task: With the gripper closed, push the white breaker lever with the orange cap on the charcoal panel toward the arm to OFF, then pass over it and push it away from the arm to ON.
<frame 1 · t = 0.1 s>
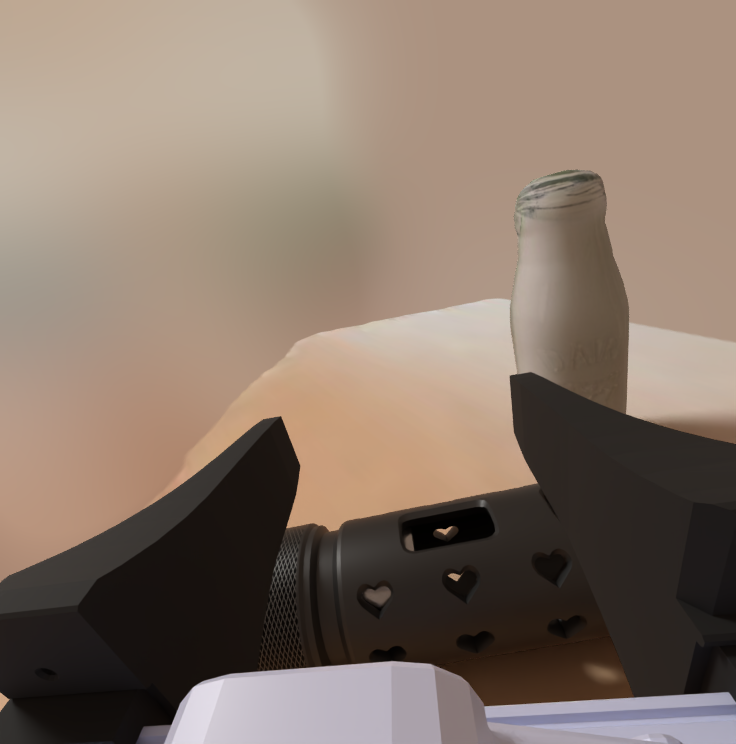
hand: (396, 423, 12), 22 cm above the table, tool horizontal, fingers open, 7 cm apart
muzzle brake: (454, 634, 27), on the table
grey bottle: (570, 446, 42), on the table
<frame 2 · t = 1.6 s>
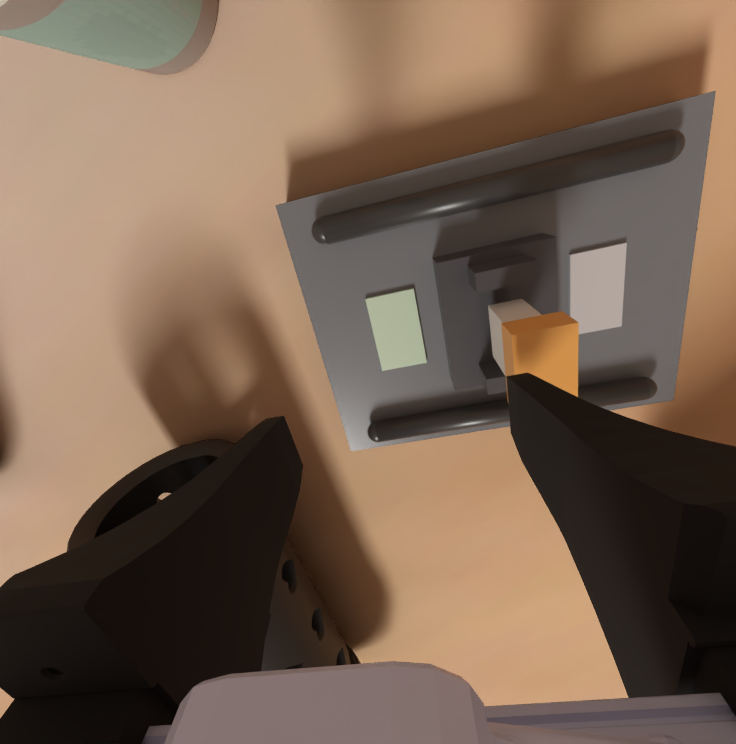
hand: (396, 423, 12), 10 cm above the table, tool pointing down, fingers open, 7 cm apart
muzzle brake: (284, 564, 31), on the table
breaker panel: (483, 300, 20), on the table
breaker lever: (523, 348, 14), point 7 cm above the table, hinge at 0.0°
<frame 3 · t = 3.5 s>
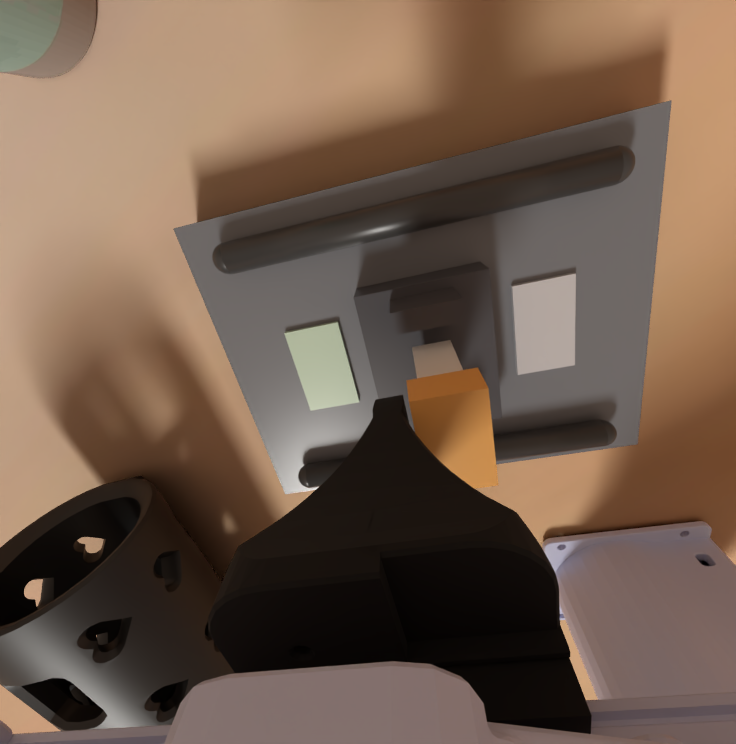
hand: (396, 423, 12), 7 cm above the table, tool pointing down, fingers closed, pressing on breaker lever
muzzle brake: (231, 602, 29), on the table
breaker panel: (425, 331, 18), on the table
breaker lever: (444, 403, 12), point 7 cm above the table, hinge at -0.5°, touching gripper
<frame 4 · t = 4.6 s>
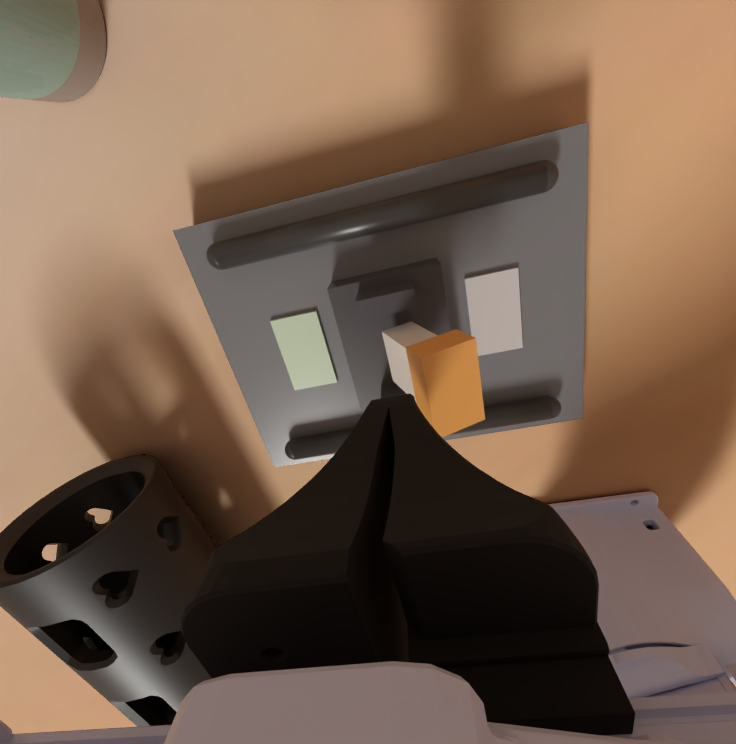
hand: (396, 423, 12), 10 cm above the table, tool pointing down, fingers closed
muzzle brake: (228, 574, 31), on the table
breaker panel: (395, 320, 21), on the table
breaker lever: (424, 368, 15), point 7 cm above the table, hinge at -21.8°
coffee cup: (40, 19, 16), on the table
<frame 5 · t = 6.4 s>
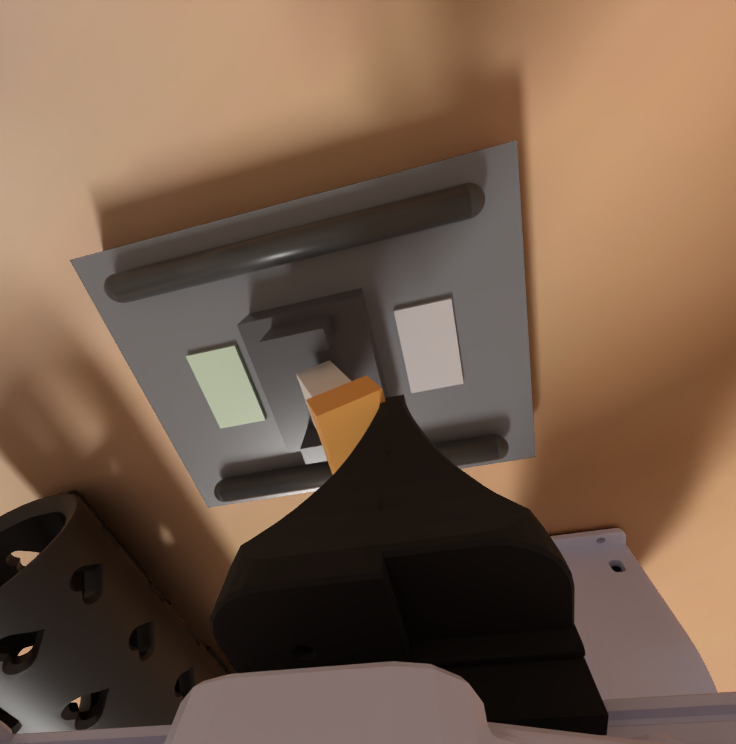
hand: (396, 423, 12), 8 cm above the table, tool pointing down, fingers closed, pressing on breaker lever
muzzle brake: (178, 611, 30), on the table
breaker panel: (331, 351, 19), on the table
breaker lever: (339, 416, 13), point 6 cm above the table, hinge at -25.7°, touching gripper
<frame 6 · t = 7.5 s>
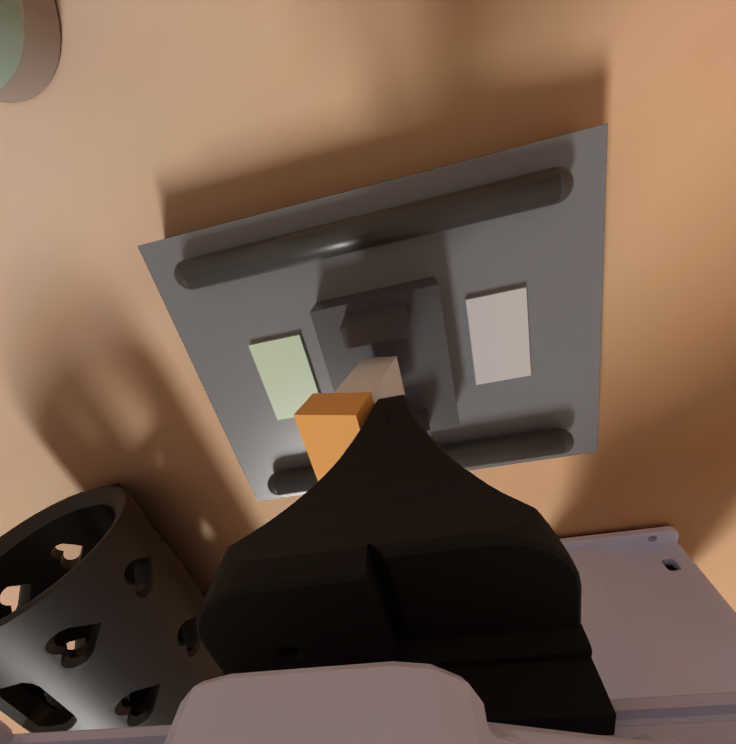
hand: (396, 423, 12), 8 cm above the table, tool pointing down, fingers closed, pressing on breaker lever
muzzle brake: (213, 607, 29), on the table
breaker panel: (389, 342, 19), on the table
breaker lever: (365, 417, 13), point 7 cm above the table, hinge at 18.1°, touching gripper
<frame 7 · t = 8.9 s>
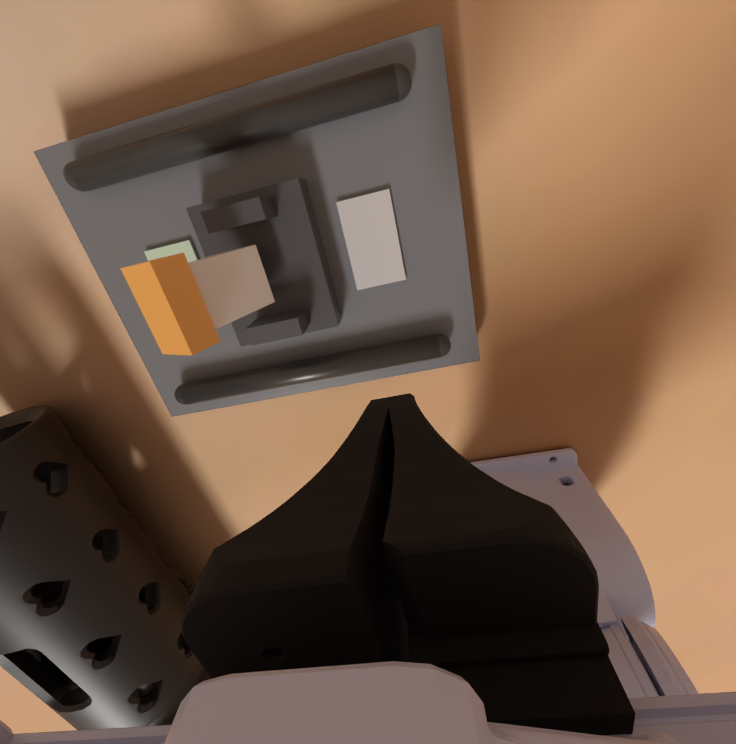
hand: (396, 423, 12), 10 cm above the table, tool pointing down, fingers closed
muzzle brake: (152, 542, 31), on the table
breaker panel: (286, 258, 20), on the table
breaker lever: (211, 291, 14), point 6 cm above the table, hinge at 29.3°
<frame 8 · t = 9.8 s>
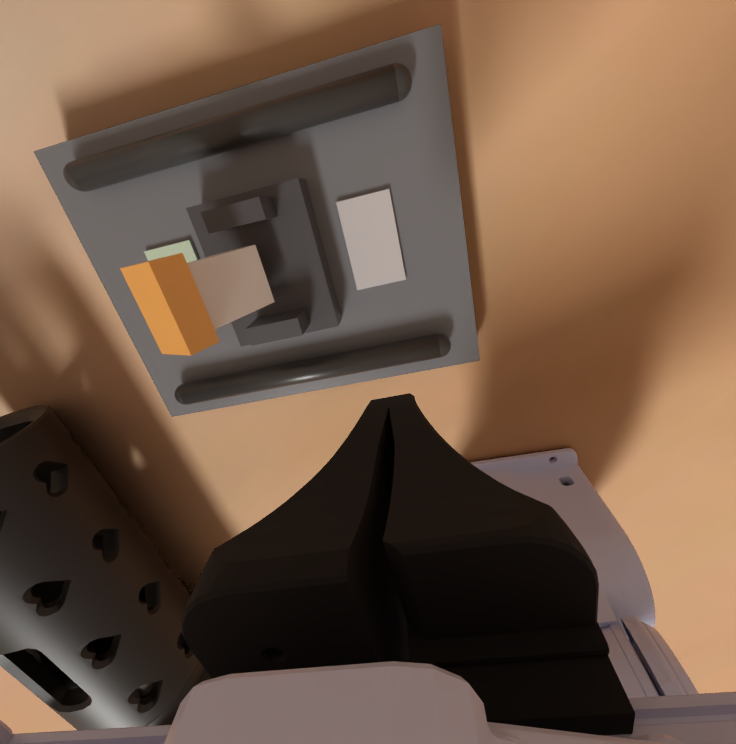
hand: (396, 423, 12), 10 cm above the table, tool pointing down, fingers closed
muzzle brake: (152, 542, 31), on the table
breaker panel: (286, 258, 20), on the table
breaker lever: (210, 291, 14), point 6 cm above the table, hinge at 29.9°
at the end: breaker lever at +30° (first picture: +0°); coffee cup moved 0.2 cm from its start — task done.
